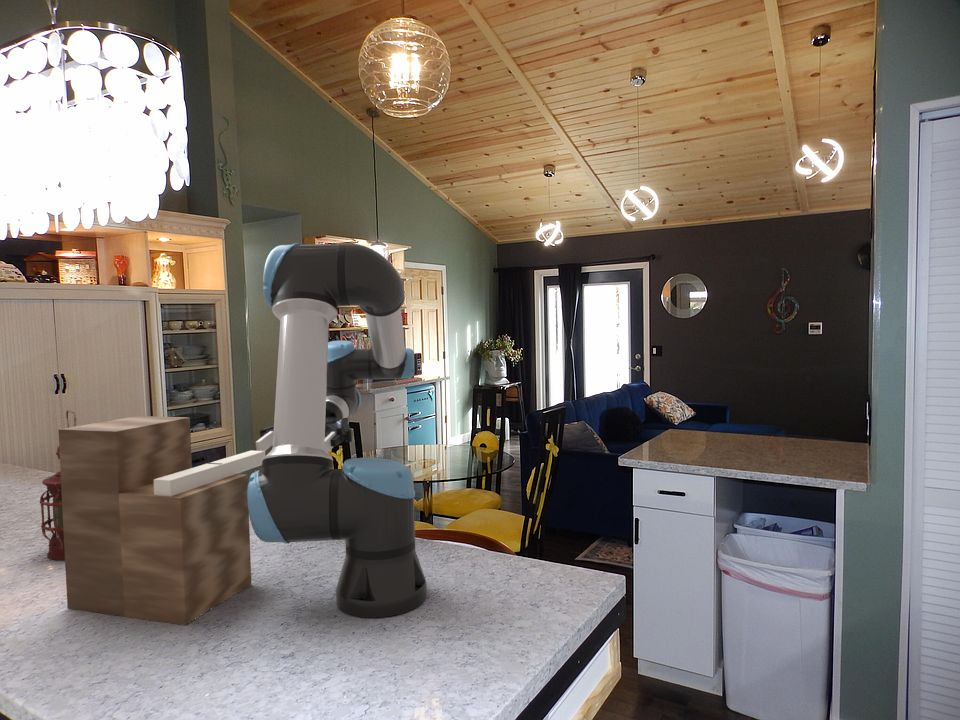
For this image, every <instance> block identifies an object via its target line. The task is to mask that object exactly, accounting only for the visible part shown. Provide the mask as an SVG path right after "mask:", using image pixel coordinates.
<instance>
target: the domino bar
mask: <svg viewBox="0 0 960 720" xmlns="http://www.w3.org/2000/svg"><path fill="white" fill-rule="evenodd" d="M265 456H266V451H257V450H252V449H251V450H247V451H244V452H241V453H238V454H234V455H231V456H227V457H224V458H221V459H218V460H215V461H212V462H207V463H204V464H201V465H197V466H194V467H192V468H191V469H187V470H184V471H180V472H177V473H174V474H170V475H167V476H164V477H160V478H157V479H154V495H158V496H173V495H176V494H179V493H182V492H185V491H188V490H191V489H194V488H197V487H200V486H203V485H206V484H209V483H211V482H214V481H217V480H220V479H223V478H226V477H229V476H232V475H235V474H242V473H244V472H246V471H249V470H253V469H254V468H257V467H260V466H261V467H262V459H263V458H264V457H265Z"/></svg>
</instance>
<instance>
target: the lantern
mask: <svg viewBox="0 0 960 720" xmlns="http://www.w3.org/2000/svg"><path fill="white" fill-rule="evenodd" d="M69 413H71V414H72V415H73V427H76V426H77V416H76V412H75V411H73V410H72V409H67V410H66V412H65V420H66V428H70V422H69ZM55 454H56V456H57V458H58V460H60V452H59V445H58V446H57V451H56V453H55ZM41 484H43V485H44V486H45V487H46V491H44V492H43V493H42V494H41V495H40V499H39V504H40V510H41V512H40V513H41V525H40V527H41V532H42V536H43V537H44V538H45V539H46V540H48V553H47V558H48V559H50V560H52V561H65V549H64V530H63V511H62V491H61V472H60V471H57V472H56V473H55V474H52V475H50V476H49V477H46V478H44V479H42V483H41ZM45 494H46V496H45ZM51 498H52V502H50V499H51ZM45 506H46V508H47V520H45V511H44V507H45ZM50 507H52V518H51V510H50ZM52 522H53V527H52ZM46 525H48V526H46ZM46 531H49V532H50V533H51V538H49V537H48V536H47V534H46Z"/></svg>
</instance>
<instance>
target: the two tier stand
mask: <svg viewBox="0 0 960 720" xmlns="http://www.w3.org/2000/svg"><path fill="white" fill-rule="evenodd" d="M57 431H58V446H59V452H60V459H59V466H60V467H59V468H60V471H59V472H61V491H62V511H63V530H64V549H65V560H64V563H65V565H64V566H65V586H66V587H65V588H66V604H67V605H66V606H67V609H72V610H76V611H77V610H79V611H85V612H90V611H91V612H92V613H97V612H99V614H104V613H106V614H105V615H112V616H118V617H119V616H120V617H125V618H132V619H139V620H145V621H153V622H161V623H167V624H173V625H180V624H184V625H183V626H187V625H188V624H187V623H189V622H190V623H192V622H193V621H195V620H196V619H195V618H197V617H198V616H200V615H201V614H203V613H205V612H206V613H208V612H209V611H208V610H210V609H211V608H213V607H214V608H216V607H217V606H216V605H218V604H219V605H221V604H222V603H224V602H225V600H226V601H227V600H228V598H229V599H231V598H232V597H233V595H234V596H235V595H237V594H238V592H239V591H240V592H242V591H244V590H245V589H247V588H249V587H250V586H251V585H252V565H251V564H252V563H251V562H252V561H251V560H252V559H251V542H250V541H251V539H250V536H251V535H250V516H249V510H248V499H247V490H248V483H249V478H248V474H244V473H243V474H242V473H238V474H235V475H232V476H229V477H226V478H223V479H220V480H217V481H214V482H211V483H209V484H206V485H203V486H200V487H197V488H194V489H191V490H188V491H185V492H182V493H179V494H176V495H173V496H158V495H154V479H157V478H160V477H164V476H167V475H170V474H174V473H177V472H180V471H184V470H187V469H191V468H193V466H192V465H193V463H192V462H193V461H192V440H191V439H192V437H191V435H192V434H191V417H186V416H185V417H184V416H183V417H180V416H149V415H147V416H146V415H138V416H137V415H136V416H131V417H130V416H129V417H124V418H119V419H118V418H117V419H113V420H108V421H102V422H101V421H100V422H95V423H89V424H83V425H76V427H74V426H69V428H67V427H65V428H58V430H57ZM246 587H247V588H246ZM241 590H242V591H241ZM240 592H239V593H240ZM230 597H231V598H230ZM223 601H224V602H223ZM221 602H222V603H221ZM220 603H221V604H220ZM219 605H218V606H219ZM215 606H216V607H215ZM214 608H213V609H214ZM211 610H212V609H211ZM211 610H210V611H211ZM207 611H208V612H207ZM206 613H205V614H206ZM203 615H204V614H203ZM200 617H201V616H200ZM198 618H199V617H198ZM198 618H197V619H198ZM194 619H195V620H194ZM191 621H192V622H191ZM190 623H189V624H190ZM186 624H187V625H186Z"/></svg>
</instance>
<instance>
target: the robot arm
mask: <svg viewBox="0 0 960 720" xmlns="http://www.w3.org/2000/svg"><path fill="white" fill-rule="evenodd" d="M262 274H263V275H262V276H263V277H262V284H263V287H262V291H263V297H264V302H265V303H266V305H267V306H269V307H271V309H272V314H273V315H274V316H275V318H277V319H278V320H279V322H280V323H279V335H278V337H279V338H278V353H277V371H276V373H277V374H276V385H275V387H276V388H275V403H274V404H275V405H274V419H273V422H274V423H273V424H272V425H269V426H266V427H263V428H261V429H259V430H258V431H259V438H258V439H257V440H256V441H255V448H256V451H265V452H266V451H267V450H268V449H269V448H271V447H272V449H271V450H270V451H269V452H267V454H265V457H264V458H263V459H262V465H261V470H258V469H257V470H256V471H255V472H252V473H251V474H250V476H249V478H248V490H247V499H248V510H249V522H250V523H251V524H250V525H251V526H252V529H253V532H254V534H255V535H256V537H257V538H258V539H259V540H260V541H262V542H265V543H284V544H291V543H300V542H301V543H305V542H307V543H308V542H322V541H324V542H326V541H328V542H329V541H344V543H345V558H344V561H343V564H342V568H341V571H340V575H339V577H338V578H339V579H338V581H337V584H336V588H335V589H336V590H335V601H336V605H337V608H338V609H339V610H340V611H341V612H343V613H345V614H349V615H351V616H355V617H362V618H386V617H391V616H397V615H400V614H404V613H407V612H409V611H413V610H414V609H416V608H418V607H420V606H421V605H422V604H423V603H424V602H425V601H426V599H427V593H428V590H427V589H428V587H427V580H426V576H425V573H424V570H423V569H422V565H421V563H420V562H421V561H420V559H419V557H418V555H417V551H416V530H415V529H416V525H415V524H416V523H415V497H416V491H415V488H414V487H415V484H414V475H413V472H412V469H410V467H408V465H406V464H404V463H402V462H399V461H396V460H392V459H387V458H380V457H359V458H358V457H354V458H349V459H346V460H344V462H343V464H342V466H341V468H334V464H333V463H334V459H333V457H332V456H330V454H329V452H331V450H333V448H334V447H335V448H336V447H338V446H339V445H340V444H342V443H343V442H344V441H345V442H346V443H352V442H353V436H352V434H353V433H352V429H351V427H350V425H349V422H350V421H349V418H351V417H352V416H353V415H355V413H356V412H357V410H358V409H359V408H360V407H361V403H362V395H361V392H360V391H359V389H358V388H357V381H360V380H361V381H362V380H364V381H365V380H368V381H369V380H403V379H404V380H405V379H411V378H413V377H414V375H415V352H414V350H413V349H412V348H406V347H405V346H406V345H405V338H404V337H405V336H404V325H403V317H402V316H403V315H402V307H403V306H404V305H403V304H404V302H405V298H406V297H405V296H406V295H405V285H404V283H403V279H402V277H401V276H400V274H399V272H398V270H397V269H396V268H395V267H394V265H393V264H392V263H391V262H390V261H389V260H388V259H387V258H386V257H384V256H383V255H382V254H381V253H379V252H378V251H376V250H374V249H373V248H370V247H367V246H365V245H363V244H359V243H357V244H356V243H330V244H329V243H327V244H322V243H321V244H317V243H315V244H309V243H308V244H301V243H297V242H296V243H292V244H281V245H276V246H275V247H274V248H273V249H272V250H270V252H269V254H268V256H267V258H266V259H265V264H264V269H263V273H262ZM349 306H358V307H359V308H360V310H361V311H362V312H364V316H365V319H366V321H365V322H366V326H367V330H368V335H369V339H370V344H371V348H366V349H365V348H363V349H362V348H357V349H356V347H355V345H354V342H352V341H350V340H332V341H329V330H330V329H329V326H330V323H331V322H333V321H334V320H335V319H337V317H338V308H339V307H349ZM356 380H357V381H356Z"/></svg>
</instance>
